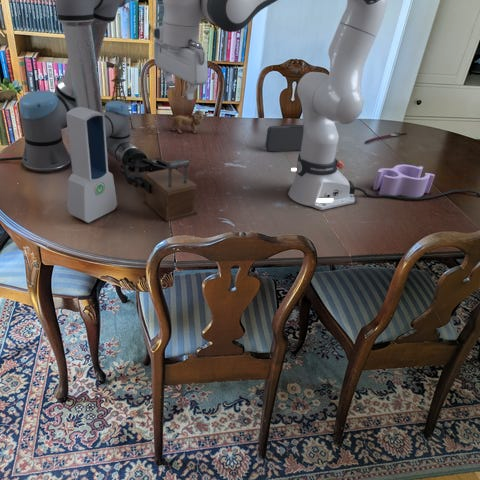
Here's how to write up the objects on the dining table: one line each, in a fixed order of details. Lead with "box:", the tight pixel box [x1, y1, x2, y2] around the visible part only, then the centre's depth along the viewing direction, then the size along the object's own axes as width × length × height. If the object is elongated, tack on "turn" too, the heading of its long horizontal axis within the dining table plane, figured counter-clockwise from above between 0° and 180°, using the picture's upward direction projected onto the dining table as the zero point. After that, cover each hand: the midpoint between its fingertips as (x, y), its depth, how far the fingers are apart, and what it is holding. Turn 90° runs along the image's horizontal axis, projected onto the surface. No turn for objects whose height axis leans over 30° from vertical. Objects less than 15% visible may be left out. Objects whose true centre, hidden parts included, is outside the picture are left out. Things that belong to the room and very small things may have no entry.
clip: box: [372, 164, 436, 198], centre depth 166 cm, size 20×12×7 cm, turn 109°
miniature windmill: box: [105, 53, 134, 129], centre depth 184 cm, size 9×8×30 cm
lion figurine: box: [168, 109, 204, 134], centre depth 195 cm, size 15×5×9 cm, turn 110°
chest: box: [145, 177, 196, 222], centre depth 140 cm, size 13×10×9 cm
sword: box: [365, 132, 406, 144], centre depth 214 cm, size 31×3×1 cm, turn 126°
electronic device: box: [66, 107, 118, 224], centre depth 127 cm, size 12×8×30 cm, turn 148°
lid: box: [145, 158, 197, 195], centre depth 135 cm, size 13×10×9 cm
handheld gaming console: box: [264, 124, 303, 152], centre depth 189 cm, size 23×3×10 cm, turn 108°
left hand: (165, 185), depth 140 cm, fingers closed on chest, 9 cm apart
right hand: (179, 93), depth 120 cm, fingers open, 8 cm apart
